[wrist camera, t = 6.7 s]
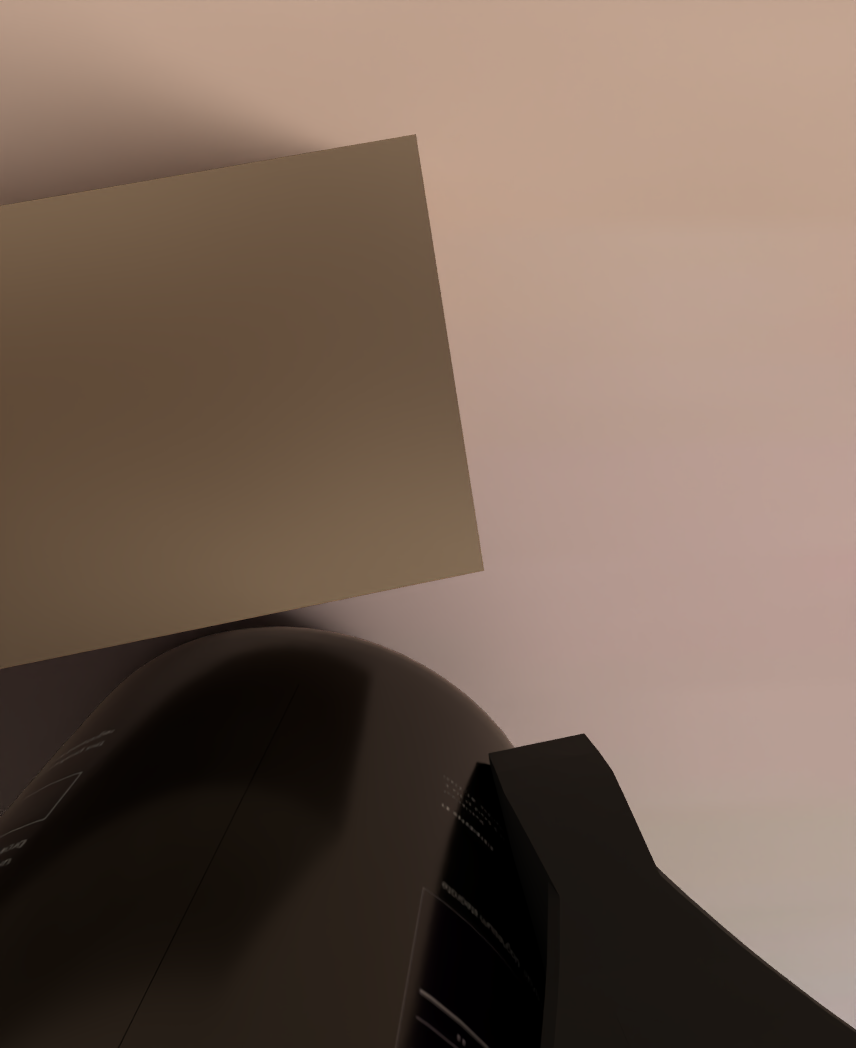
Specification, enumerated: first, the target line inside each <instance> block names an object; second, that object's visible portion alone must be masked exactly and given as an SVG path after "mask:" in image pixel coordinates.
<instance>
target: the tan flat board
mask: <svg viewBox="0 0 856 1048" xmlns="http://www.w3.org/2000/svg"><path fill="white" fill-rule="evenodd" d="M479 571H484V567H483V561H482V554H481V548H480V541H479V535H478V529H477V522H476V516H475V509H474V503H473V497H472V490H471V484H470V478H469V471H468V465H467V458H466V452H465V446H464V439H463V433H462V426H461V420H460V414H459V407H458V401H457V394H456V388H455V382H454V375H453V369H452V363H451V356H450V350H449V343H448V337H447V331H446V324H445V318H444V311H443V305H442V299H441V292H440V286H439V280H438V273H437V267H436V260H435V254H434V248H433V241H432V235H431V228H430V222H429V216H428V209H427V203H426V197H425V190H424V184H423V177H422V171H421V165H420V158H419V152H418V145H417V139H416V134H415V135H409V136H403V137H398V138H392V139H386V140H380V141H374V142H368V143H363V144H357V145H351V146H345V147H339V148H334V149H328V150H322V151H316V152H310V153H304V154H299V155H293V156H287V157H281V158H275V159H270V160H264V161H258V162H252V163H246V164H240V165H235V166H229V167H223V168H217V169H211V170H206V171H200V172H194V173H188V174H182V175H176V176H171V177H165V178H159V179H153V180H147V181H142V182H136V183H130V184H124V185H118V186H112V187H107V188H101V189H95V190H89V191H83V192H78V193H72V194H66V195H60V196H54V197H48V198H43V199H37V200H31V201H25V202H19V203H14V204H8V205H2V206H0V669H3V668H8V667H13V666H18V665H23V664H28V663H33V662H38V661H42V660H47V659H52V658H57V657H62V656H67V655H72V654H77V653H82V652H87V651H91V650H96V649H101V648H106V647H111V646H116V645H121V644H126V643H131V642H136V641H141V640H145V639H150V638H155V637H160V636H165V635H170V634H175V633H180V632H185V631H190V630H195V629H199V628H204V627H209V626H214V625H219V624H224V623H229V622H234V621H239V620H244V619H249V618H253V617H258V616H263V615H268V614H273V613H278V612H283V611H288V610H293V609H298V608H303V607H307V606H312V605H317V604H322V603H327V602H332V601H337V600H342V599H347V598H352V597H356V596H361V595H366V594H371V593H376V592H381V591H386V590H391V589H396V588H401V587H406V586H410V585H415V584H420V583H425V582H430V581H435V580H440V579H445V578H450V577H455V576H460V575H464V574H469V573H474V572H479Z"/></svg>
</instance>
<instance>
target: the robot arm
mask: <svg viewBox="0 0 856 1048" xmlns="http://www.w3.org/2000/svg"><path fill="white" fill-rule="evenodd" d="M488 755H489V761H490V767H491V771H492V775H493V779H494V782H495V786H496V790H497V794H498V798H499V802H500V805H501V809H502V813H503V817H504V821H505V826H506V830H507V834H508V838H509V842H510V846H511V850H512V854H513V858H514V861H515V865H516V868H517V871H518V875H519V878H520V882H521V885H522V889H523V892H524V895H525V899H526V902H527V906H528V909H529V913H530V916H531V920H532V924H533V928H534V932H535V935H536V939H537V943H538V947H539V950H540V954H541V958H542V963H543V967H544V971H545V976H546V986H545V1001H544V1014H543V1025H542V1036H541V1046H540V1048H856V1030H855V1029H854V1028H853V1027H851V1026H850V1025H849V1024H847V1023H846V1022H844V1021H843V1020H842V1019H840V1018H839V1017H837V1016H836V1015H835V1014H833V1013H832V1012H830V1011H829V1010H828V1009H826V1008H825V1007H824V1006H822V1005H821V1004H820V1003H818V1002H817V1001H816V1000H814V999H813V998H812V997H810V996H809V995H808V994H806V993H805V992H804V991H803V990H801V989H800V988H799V987H797V986H796V985H795V984H793V983H792V982H791V981H789V980H788V979H787V978H786V977H784V976H783V975H782V974H780V973H779V972H778V971H776V970H775V969H774V968H773V967H771V966H770V965H769V964H768V963H766V962H765V961H764V960H763V959H761V958H760V957H759V956H758V955H756V954H755V953H754V952H753V951H752V950H750V949H749V948H748V947H747V946H746V945H744V944H743V943H742V942H741V941H739V940H738V939H737V938H736V937H735V936H733V935H732V934H731V933H730V932H729V931H728V930H726V929H725V928H724V927H723V926H722V925H721V924H719V923H718V922H717V921H716V920H715V919H714V918H713V917H711V916H710V915H709V914H708V913H707V912H706V911H705V910H703V909H702V908H701V907H700V906H699V905H698V904H697V903H695V902H694V901H693V900H692V899H691V898H690V897H689V896H688V895H686V894H685V893H684V892H683V891H682V890H681V889H680V888H679V887H678V886H677V885H676V884H675V883H673V882H672V881H671V880H670V879H669V878H668V877H667V876H666V875H665V874H664V873H663V872H662V871H661V870H660V869H659V868H658V867H657V866H656V865H655V863H654V861H653V858H652V856H651V854H650V852H649V850H648V847H647V845H646V843H645V841H644V838H643V836H642V834H641V832H640V830H639V827H638V825H637V823H636V821H635V818H634V816H633V814H632V812H631V810H630V807H629V805H628V803H627V801H626V799H625V797H624V794H623V792H622V790H621V788H620V786H619V784H618V781H617V779H616V777H615V775H614V773H613V771H612V770H611V768H610V767H609V765H608V764H607V762H606V761H605V760H604V758H603V757H602V755H601V754H600V753H599V751H598V750H597V749H596V747H595V746H594V745H593V744H592V743H591V741H590V740H589V739H588V738H587V736H586V735H585V734H580V735H575V736H570V737H565V738H560V739H555V740H550V741H546V742H541V743H536V744H531V745H526V746H521V747H516V748H512V749H507V750H502V751H497V752H492V753H488Z"/></svg>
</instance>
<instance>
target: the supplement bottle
mask: <svg viewBox="0 0 856 1048" xmlns="http://www.w3.org/2000/svg"><path fill="white" fill-rule="evenodd" d="M512 748H514V746H513V745H512V743H511V742H510V741H509V739H508V738H507V737H506V735H505V734H504V733H503V731H502V730H501V729H500V728H499V727H498V726H497V725H496V723H495V722H494V721H493V720H492V719H491V718H490V717H489V716H488V715H487V714H486V712H485V711H484V710H482V709H481V708H480V707H479V706H478V705H477V704H476V703H475V702H474V701H473V700H472V699H470V698H469V697H468V696H467V695H466V694H465V693H464V692H462V691H461V690H460V689H458V688H457V687H456V686H454V685H453V684H452V683H450V682H449V681H448V680H446V679H445V678H443V677H442V676H440V675H439V674H437V673H436V672H434V671H432V670H431V669H429V668H428V667H426V666H424V665H422V664H420V663H418V662H417V661H415V660H413V659H411V658H409V657H407V656H405V655H403V654H401V653H398V652H396V651H393V650H391V649H389V648H386V647H384V646H381V645H379V644H376V643H373V642H370V641H367V640H363V639H360V638H357V637H353V636H349V635H345V634H341V633H336V632H332V631H326V630H319V629H312V628H302V627H285V626H277V627H254V628H246V629H238V630H230V631H226V632H221V633H217V634H212V635H208V636H205V637H202V638H199V639H196V640H193V641H190V642H187V643H184V644H182V645H180V646H178V647H176V648H174V649H171V650H169V651H167V652H165V653H163V654H161V655H159V656H158V657H156V658H154V659H153V660H151V661H149V662H148V663H146V664H144V665H143V666H141V667H140V668H139V669H137V670H136V671H135V672H134V673H132V674H131V675H130V676H128V677H127V678H126V679H125V680H124V681H123V682H122V683H121V684H119V685H118V686H117V687H116V688H115V689H114V690H113V691H112V692H111V693H110V694H109V695H108V696H107V697H106V698H105V699H104V700H103V701H102V702H101V703H100V705H99V706H98V707H97V708H96V709H95V710H94V711H93V712H92V713H91V715H90V716H89V717H88V718H87V719H86V720H85V721H84V722H83V723H82V725H81V726H80V727H79V728H78V729H77V730H76V732H75V733H74V734H73V735H72V736H71V737H70V738H69V739H68V740H67V741H66V742H65V743H64V744H63V745H62V747H61V748H60V749H59V750H58V751H57V752H56V754H55V755H54V756H53V757H52V758H51V759H50V761H49V762H48V763H47V764H46V765H45V766H44V767H43V769H42V770H41V771H40V772H39V773H38V774H37V776H36V777H35V778H34V779H33V780H32V781H31V783H30V784H29V785H28V786H27V787H26V788H25V790H24V791H23V792H22V793H21V794H20V795H19V796H18V798H17V799H16V800H15V801H14V802H13V803H12V805H11V806H10V807H9V808H8V809H7V810H6V812H5V813H4V814H3V815H2V816H1V817H0V1048H540V1046H541V1036H542V1025H543V1014H544V1001H545V986H546V976H545V971H544V967H543V963H542V958H541V954H540V950H539V947H538V943H537V939H536V935H535V932H534V928H533V924H532V920H531V916H530V913H529V909H528V906H527V902H526V899H525V895H524V892H523V889H522V885H521V882H520V878H519V875H518V871H517V868H516V865H515V861H514V858H513V854H512V850H511V846H510V842H509V838H508V834H507V830H506V826H505V821H504V817H503V813H502V809H501V805H500V802H499V798H498V794H497V790H496V786H495V782H494V779H493V775H492V771H491V767H490V761H489V755H488V753H492V752H497V751H502V750H507V749H512Z"/></svg>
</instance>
